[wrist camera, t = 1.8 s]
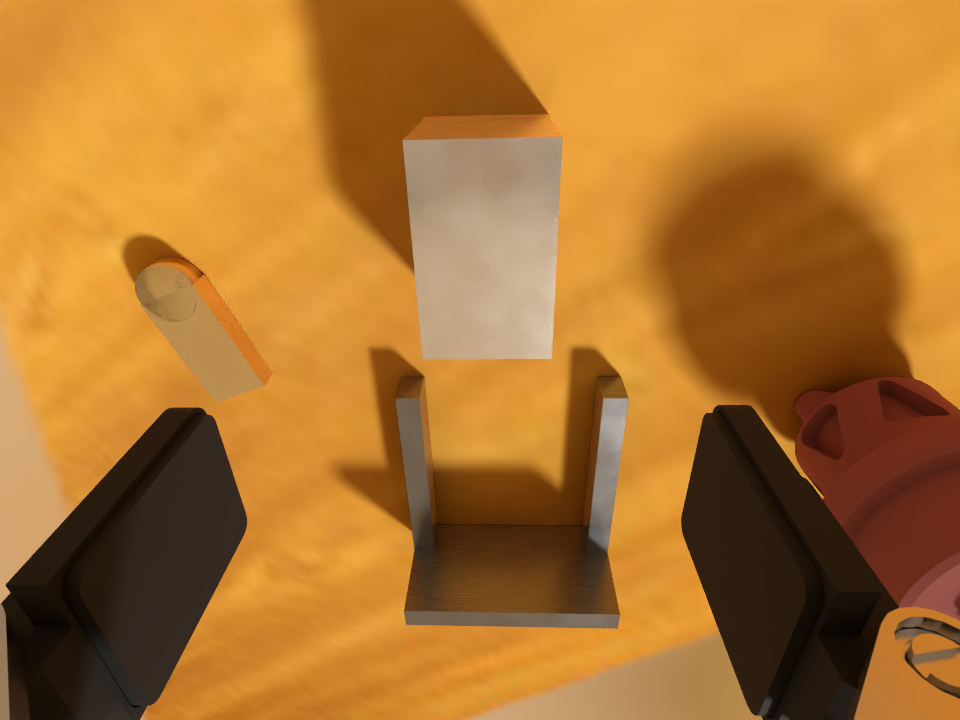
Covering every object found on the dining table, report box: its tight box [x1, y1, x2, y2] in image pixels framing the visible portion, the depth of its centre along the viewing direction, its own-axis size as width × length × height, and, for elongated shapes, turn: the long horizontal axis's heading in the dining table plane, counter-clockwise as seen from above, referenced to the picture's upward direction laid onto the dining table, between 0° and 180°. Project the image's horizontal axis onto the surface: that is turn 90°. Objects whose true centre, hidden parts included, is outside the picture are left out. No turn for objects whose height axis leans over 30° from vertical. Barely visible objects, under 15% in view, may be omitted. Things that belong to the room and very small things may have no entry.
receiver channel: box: [395, 376, 628, 628], centre depth 29 cm, size 12×11×6 cm
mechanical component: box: [794, 376, 960, 621], centre depth 24 cm, size 12×10×10 cm
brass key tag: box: [135, 257, 273, 402], centre depth 27 cm, size 7×3×1 cm, turn 22°
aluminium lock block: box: [402, 114, 562, 359], centre depth 22 cm, size 9×5×6 cm, turn 1°
